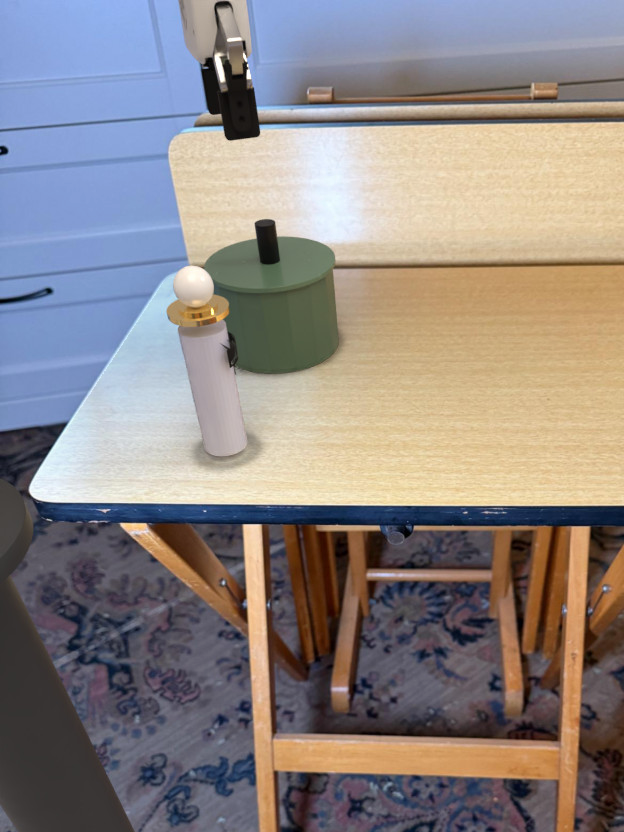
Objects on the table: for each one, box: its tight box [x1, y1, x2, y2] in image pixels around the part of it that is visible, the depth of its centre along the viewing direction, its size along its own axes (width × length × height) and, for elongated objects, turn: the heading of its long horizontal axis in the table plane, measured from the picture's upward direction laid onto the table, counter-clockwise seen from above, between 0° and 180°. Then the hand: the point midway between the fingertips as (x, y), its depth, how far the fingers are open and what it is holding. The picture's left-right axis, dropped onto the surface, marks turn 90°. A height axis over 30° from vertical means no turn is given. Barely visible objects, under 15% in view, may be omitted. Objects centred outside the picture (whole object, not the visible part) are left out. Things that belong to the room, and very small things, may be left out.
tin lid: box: [203, 218, 336, 293], centre depth 94 cm, size 16×16×6 cm
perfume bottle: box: [166, 264, 248, 457], centre depth 78 cm, size 6×6×20 cm
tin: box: [213, 269, 340, 375], centre depth 99 cm, size 15×15×10 cm
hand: (233, 124), depth 76 cm, fingers open, 9 cm apart
